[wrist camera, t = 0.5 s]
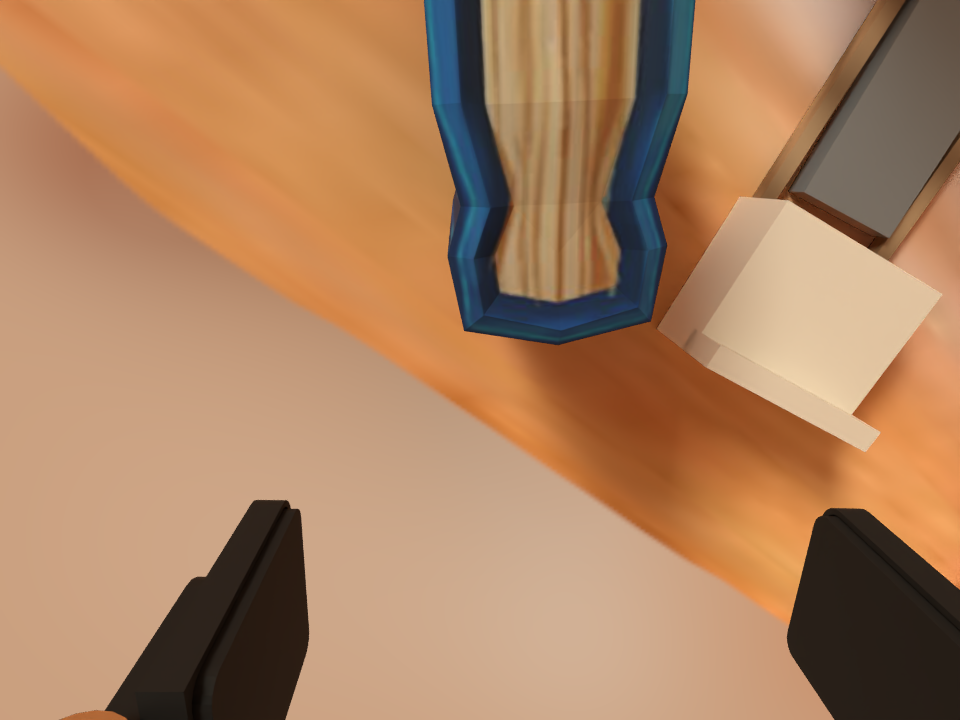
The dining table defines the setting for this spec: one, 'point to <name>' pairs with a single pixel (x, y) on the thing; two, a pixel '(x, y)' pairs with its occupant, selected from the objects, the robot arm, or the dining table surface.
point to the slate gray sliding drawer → (890, 122)
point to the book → (557, 157)
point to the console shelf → (797, 313)
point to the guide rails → (825, 106)
